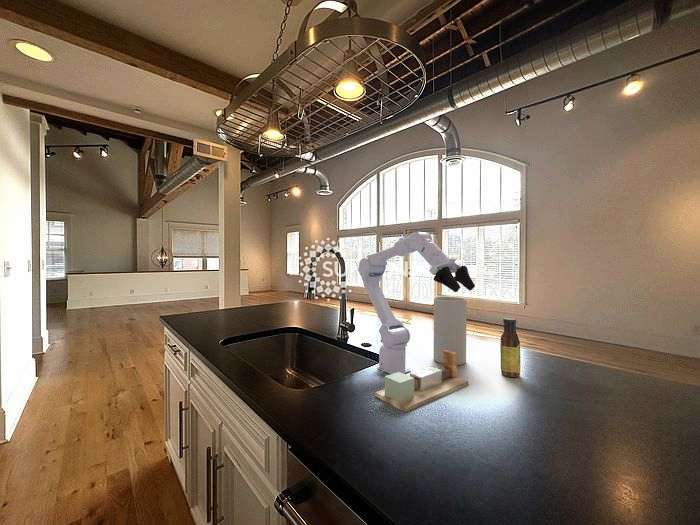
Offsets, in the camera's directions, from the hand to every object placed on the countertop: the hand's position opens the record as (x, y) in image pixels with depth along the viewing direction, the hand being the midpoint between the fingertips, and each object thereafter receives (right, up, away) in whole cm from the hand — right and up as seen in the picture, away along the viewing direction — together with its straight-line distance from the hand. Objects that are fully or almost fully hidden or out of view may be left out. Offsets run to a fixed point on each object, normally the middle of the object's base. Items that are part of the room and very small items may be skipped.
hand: (465, 289), depth 90 cm
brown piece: (-7, -30, +8) cm, 32 cm away
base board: (-11, -32, +6) cm, 34 cm away
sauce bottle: (+23, -32, +19) cm, 44 cm away
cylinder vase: (+6, -32, +34) cm, 47 cm away
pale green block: (-20, -31, -1) cm, 36 cm away
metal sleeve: (-10, -31, +6) cm, 33 cm away
